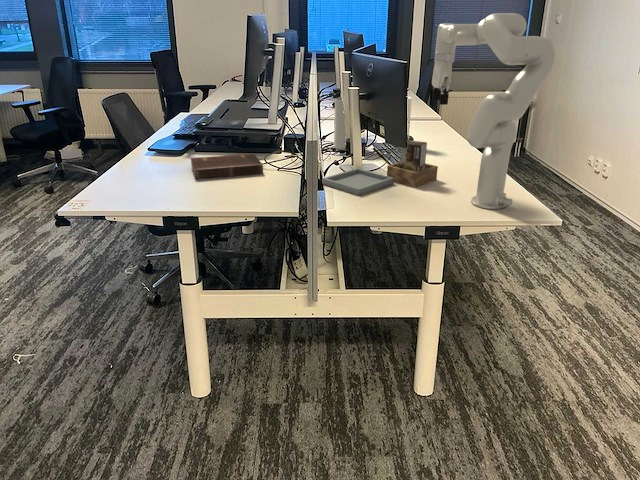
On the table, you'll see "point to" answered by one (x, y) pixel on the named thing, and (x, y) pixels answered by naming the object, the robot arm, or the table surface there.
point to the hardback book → (226, 166)
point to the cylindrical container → (409, 113)
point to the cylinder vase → (339, 125)
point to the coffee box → (413, 156)
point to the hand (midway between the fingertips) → (439, 102)
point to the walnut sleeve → (412, 175)
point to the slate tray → (357, 181)
